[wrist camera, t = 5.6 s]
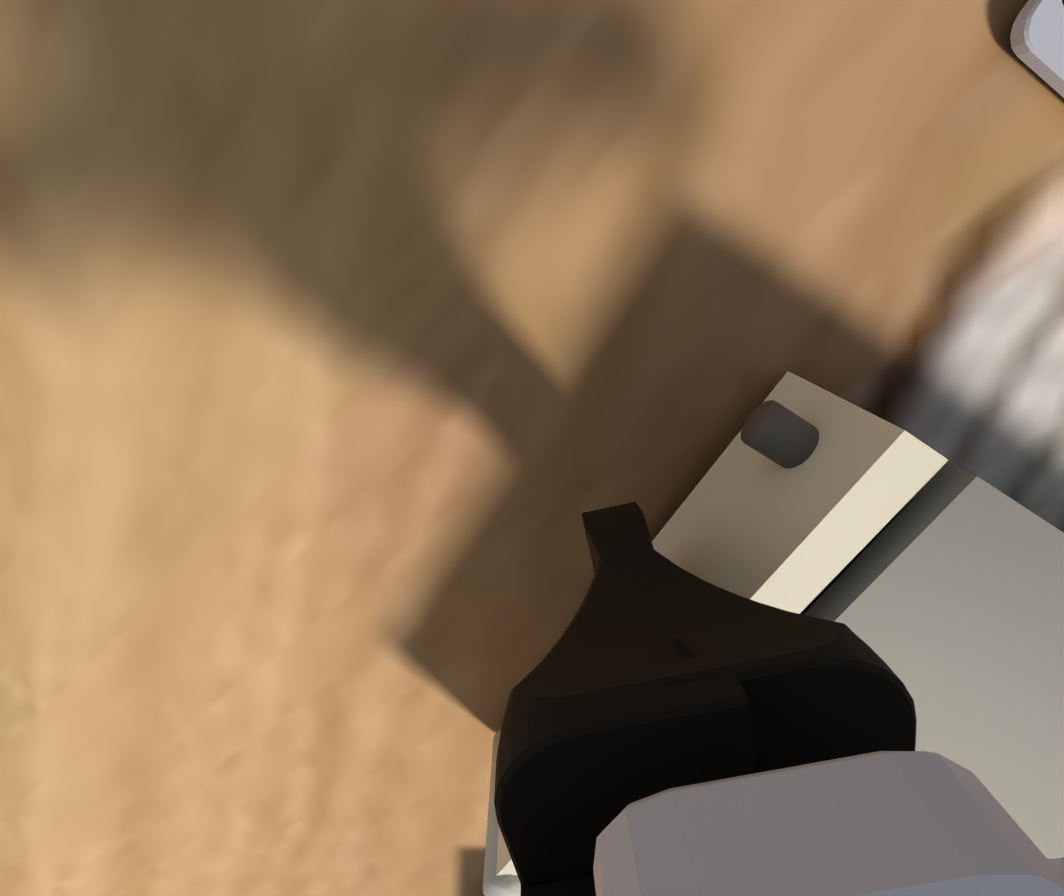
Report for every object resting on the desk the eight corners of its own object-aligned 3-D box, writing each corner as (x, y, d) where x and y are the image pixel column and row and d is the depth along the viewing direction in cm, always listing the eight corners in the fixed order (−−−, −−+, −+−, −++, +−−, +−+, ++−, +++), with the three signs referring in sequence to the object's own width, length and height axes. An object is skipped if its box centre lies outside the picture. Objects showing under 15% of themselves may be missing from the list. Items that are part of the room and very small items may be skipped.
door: (754, 348, 12) (859, 398, 8) (823, 394, 12) (953, 462, 9) (461, 734, 16) (440, 883, 13) (519, 759, 17) (515, 910, 13)
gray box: (821, 393, 13) (977, 476, 8) (1223, 653, 16) (1495, 815, 11) (539, 740, 17) (542, 916, 13) (898, 892, 20) (1003, 1078, 16)
